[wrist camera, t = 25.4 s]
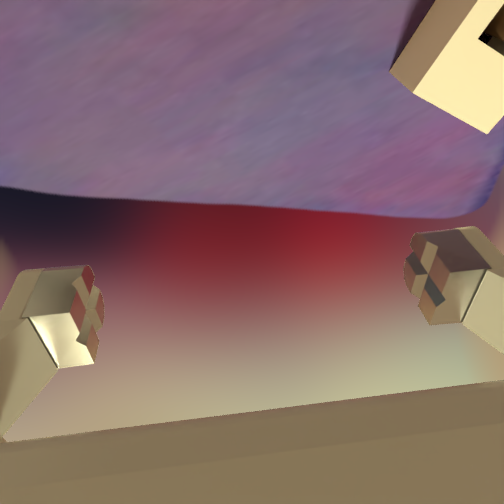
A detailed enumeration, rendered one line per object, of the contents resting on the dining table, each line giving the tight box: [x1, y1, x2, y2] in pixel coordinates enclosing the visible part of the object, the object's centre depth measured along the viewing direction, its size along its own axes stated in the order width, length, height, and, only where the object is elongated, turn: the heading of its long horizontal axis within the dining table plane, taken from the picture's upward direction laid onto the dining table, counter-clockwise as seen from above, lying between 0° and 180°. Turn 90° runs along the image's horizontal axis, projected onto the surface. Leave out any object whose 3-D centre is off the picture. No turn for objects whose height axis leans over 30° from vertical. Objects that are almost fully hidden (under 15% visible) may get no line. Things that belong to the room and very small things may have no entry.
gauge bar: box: [389, 0, 504, 134], centre depth 33 cm, size 9×16×6 cm, turn 154°
